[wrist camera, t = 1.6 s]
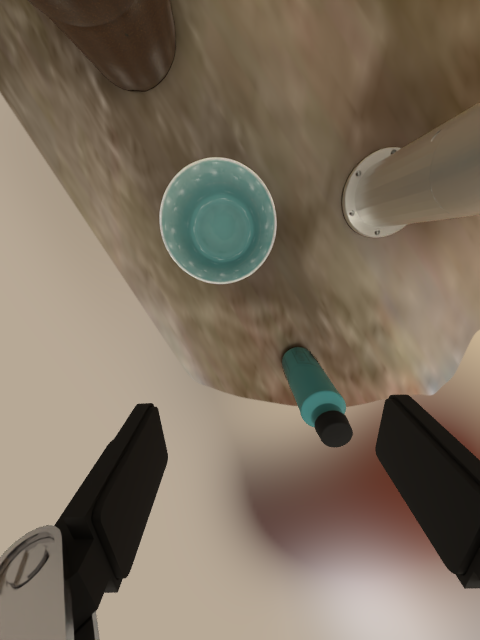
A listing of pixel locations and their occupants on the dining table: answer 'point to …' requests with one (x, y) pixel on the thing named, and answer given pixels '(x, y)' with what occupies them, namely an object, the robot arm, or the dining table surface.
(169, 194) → the bowl
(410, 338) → the dining table surface
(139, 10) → the plant pot
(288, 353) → the beverage bottle
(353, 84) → the dining table surface
